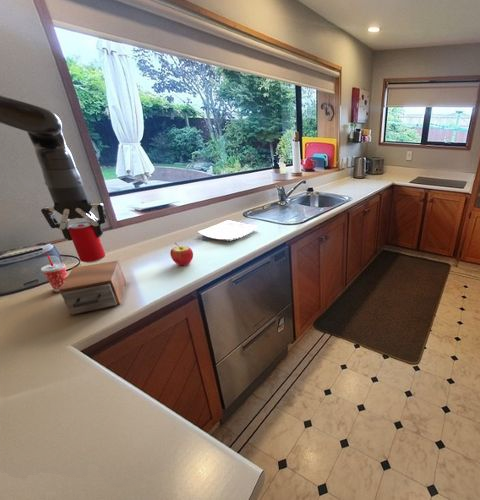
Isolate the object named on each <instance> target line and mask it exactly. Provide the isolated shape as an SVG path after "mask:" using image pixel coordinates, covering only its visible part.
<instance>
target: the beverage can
mask: <svg viewBox="0 0 480 500" xmlns="http://www.w3.org/2000/svg"><path fill="white" fill-rule="evenodd" d="M68 227H69V234H70V236H71V239H72V240H71V241H72V243H73V245H74V248H75V251H76V254H77V256H78V258H79V260H80V262H82V263H86V264H91V263H97V262H99V261H102V260H104V258H105V257H106V253H105V249H104V247H103V244H102V242H101V239H100V238H101V237H97V235H96V233H95V230H94V225H93V224H92V223H91V222H89V221H82V222H76V223H73V224H70V225H69V226H68Z"/></svg>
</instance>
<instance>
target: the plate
mask: <svg viewBox="0 0 480 500" xmlns="http://www.w3.org/2000/svg"><path fill="white" fill-rule="evenodd" d="M258 228H259V225H257V224H250V223H244V222H239V221H235V220H231V219H227V220H224V221H222V222H219V223H218V224H215V225H212V226H209V227H207V228H205V229H201V230H198V231H197V234H200V235H201V236H204V237H206V238H209V239H212V240H218V241H227V242H228V241H230V242H231V241H234V240H238V239H241V238H244V237H245V236H247V235H249V234H251V233H253V232H254V231H255V230H257V229H258Z"/></svg>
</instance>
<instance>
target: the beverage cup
mask: <svg viewBox="0 0 480 500" xmlns="http://www.w3.org/2000/svg"><path fill="white" fill-rule="evenodd" d="M45 255H46V257H47V258H48V262H49V264H46V265H43V266H42V267H41V268H40V271H41V273H43V274H44V276H45V278H46V279H47V281H48V283H49V285H50V287H51V288H52V290H53V291H54V292H58V293H59V292H60V290H59V289H60V288H61V286H62V285H63V283H64V282H65V280H66V278H67V277H68V275H69V273H68V271H67V269H66V264H65V263H64V262H53V261H52V259H51V257H50V255H49V253H45Z"/></svg>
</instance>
